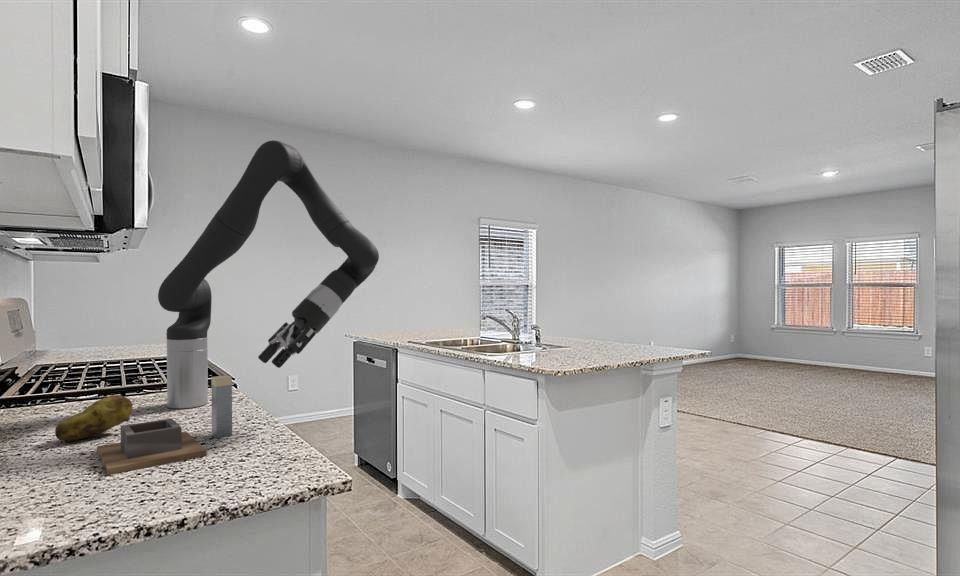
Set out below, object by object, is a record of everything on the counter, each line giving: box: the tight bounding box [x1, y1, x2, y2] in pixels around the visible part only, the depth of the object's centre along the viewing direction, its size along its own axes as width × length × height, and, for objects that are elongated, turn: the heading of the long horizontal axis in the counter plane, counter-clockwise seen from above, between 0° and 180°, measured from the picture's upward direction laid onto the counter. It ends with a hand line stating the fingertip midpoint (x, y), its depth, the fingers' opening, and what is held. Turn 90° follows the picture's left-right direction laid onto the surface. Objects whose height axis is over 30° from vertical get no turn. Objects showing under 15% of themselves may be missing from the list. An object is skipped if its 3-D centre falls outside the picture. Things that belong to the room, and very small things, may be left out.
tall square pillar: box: [210, 374, 233, 439], centre depth 112 cm, size 4×3×12 cm
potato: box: [54, 394, 134, 443], centre depth 111 cm, size 8×13×8 cm, turn 124°
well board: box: [96, 418, 208, 476], centre depth 100 cm, size 16×15×5 cm
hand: (268, 362), depth 118 cm, fingers open, 8 cm apart
